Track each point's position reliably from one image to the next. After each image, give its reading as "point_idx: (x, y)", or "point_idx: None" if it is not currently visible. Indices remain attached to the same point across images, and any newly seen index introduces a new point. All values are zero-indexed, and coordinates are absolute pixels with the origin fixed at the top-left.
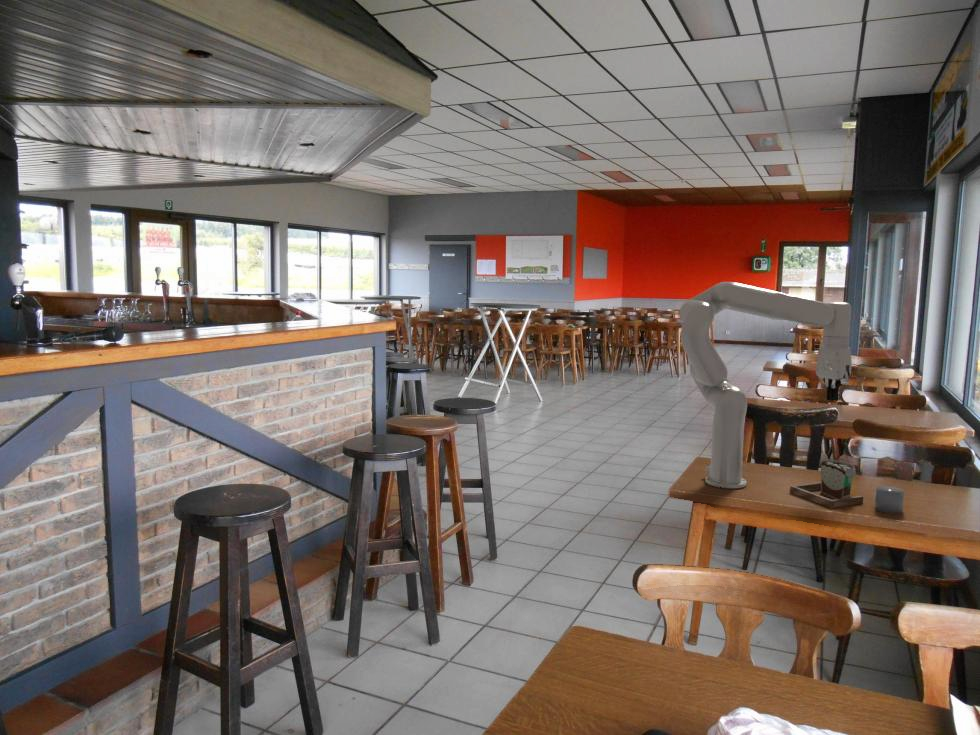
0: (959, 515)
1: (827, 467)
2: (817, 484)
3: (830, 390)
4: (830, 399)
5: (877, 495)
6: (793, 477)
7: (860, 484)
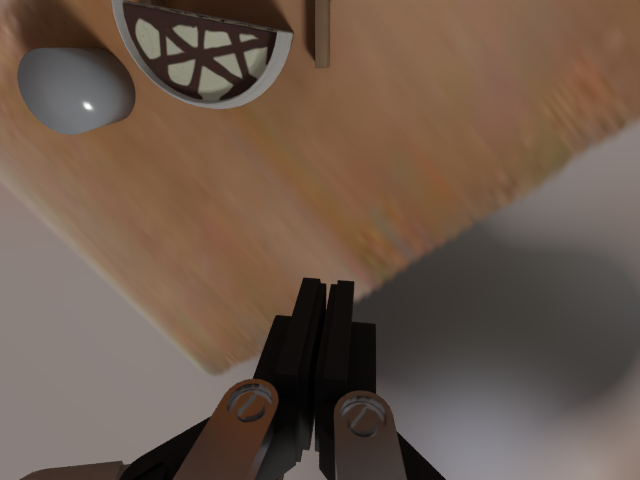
0: (52, 208)
1: (241, 25)
2: (316, 40)
3: (287, 348)
4: (303, 282)
5: (72, 50)
6: (468, 86)
7: (314, 218)
